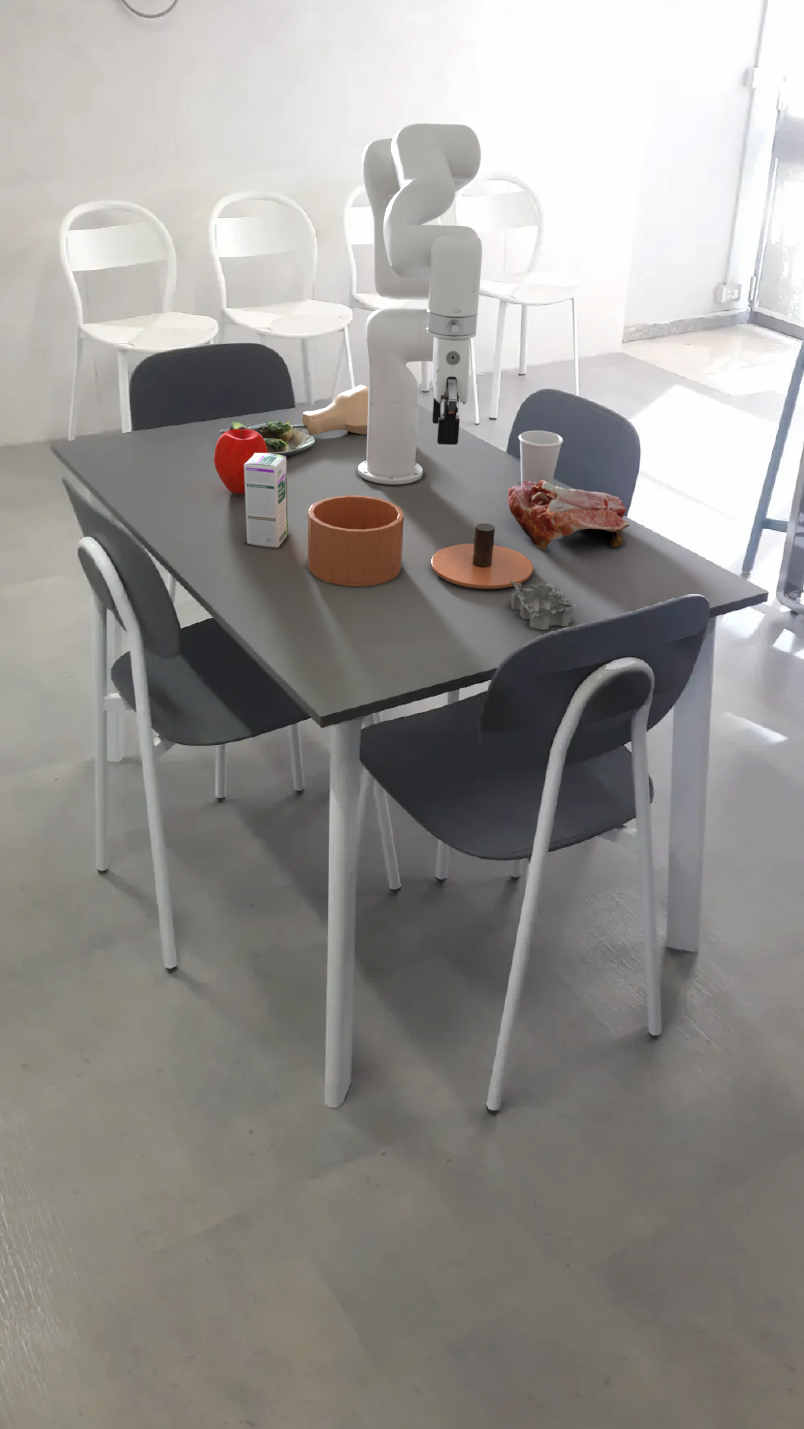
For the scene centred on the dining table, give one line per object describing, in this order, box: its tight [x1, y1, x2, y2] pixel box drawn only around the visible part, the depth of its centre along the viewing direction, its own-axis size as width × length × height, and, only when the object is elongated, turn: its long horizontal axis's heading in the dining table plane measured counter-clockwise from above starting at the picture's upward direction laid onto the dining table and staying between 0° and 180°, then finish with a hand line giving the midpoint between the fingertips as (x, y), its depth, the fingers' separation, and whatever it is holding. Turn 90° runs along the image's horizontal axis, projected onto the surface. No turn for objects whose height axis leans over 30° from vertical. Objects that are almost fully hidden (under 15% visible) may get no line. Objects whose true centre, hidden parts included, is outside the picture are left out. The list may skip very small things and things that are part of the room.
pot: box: [307, 494, 405, 587], centre depth 206 cm, size 15×15×10 cm
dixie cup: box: [518, 430, 564, 485], centre depth 241 cm, size 8×8×10 cm
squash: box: [301, 384, 369, 436], centre depth 265 cm, size 11×20×9 cm, turn 118°
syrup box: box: [244, 453, 289, 549], centre depth 212 cm, size 6×6×14 cm
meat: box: [507, 480, 630, 552], centre depth 223 cm, size 21×21×10 cm
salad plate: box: [217, 420, 316, 458], centre depth 257 cm, size 19×18×5 cm
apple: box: [213, 429, 268, 495], centre depth 231 cm, size 10×10×12 cm
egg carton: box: [510, 581, 577, 631], centre depth 195 cm, size 11×8×4 cm
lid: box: [430, 522, 534, 590], centre depth 207 cm, size 17×17×8 cm
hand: (444, 433), depth 199 cm, fingers open, 9 cm apart
